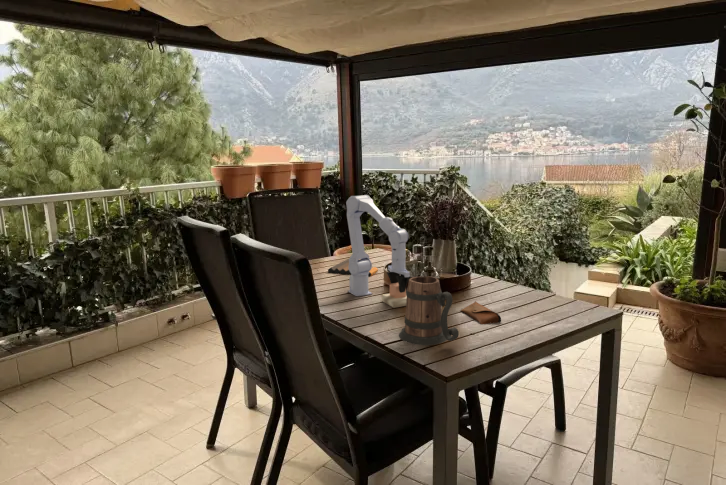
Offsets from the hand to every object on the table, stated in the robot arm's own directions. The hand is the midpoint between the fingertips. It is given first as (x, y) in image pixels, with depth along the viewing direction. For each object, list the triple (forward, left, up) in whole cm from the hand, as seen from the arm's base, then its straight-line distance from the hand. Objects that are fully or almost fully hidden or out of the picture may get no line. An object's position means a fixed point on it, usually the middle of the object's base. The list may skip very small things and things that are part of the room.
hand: (398, 290), depth 204 cm
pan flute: (-63, +12, -6) cm, 64 cm away
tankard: (+40, -11, -6) cm, 42 cm away
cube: (0, 0, -2) cm, 2 cm away
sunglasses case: (+29, +19, -6) cm, 35 cm away
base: (0, 0, -5) cm, 5 cm away
